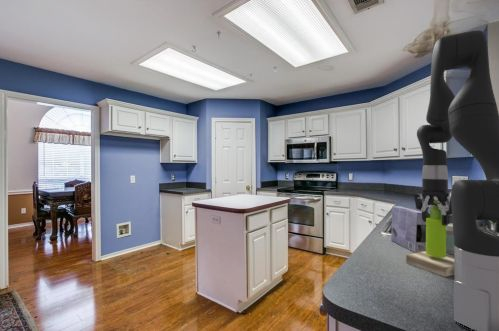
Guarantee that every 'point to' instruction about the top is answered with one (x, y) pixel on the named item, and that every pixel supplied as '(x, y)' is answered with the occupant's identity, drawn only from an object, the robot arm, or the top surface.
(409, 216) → the cake pan box
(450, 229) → the coffee cup
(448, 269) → the birch stand
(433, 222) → the soap dispenser
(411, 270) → the top surface
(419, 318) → the top surface
